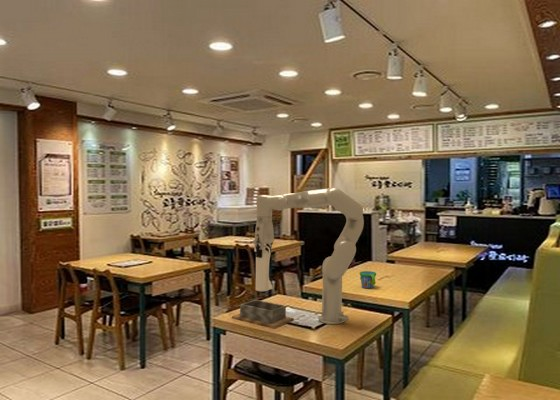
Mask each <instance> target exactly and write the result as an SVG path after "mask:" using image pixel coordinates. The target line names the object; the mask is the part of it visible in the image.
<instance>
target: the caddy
mask: <svg viewBox="0 0 560 400" xmlns="http://www.w3.org/2000/svg"><path fill="white" fill-rule="evenodd" d="M239 306H240V307H239V310H240V311H239V313H238V314H234V315H232V316H231V319H233V320H237V321H242V322H246V323H251V324H255V325H258V326H263V327H266V328H271V329H278V328H279V327H282V326H284V325H286V324H289V323H291V322H292V321H295V319H294V318H295V317H289V316H286V315H287V314H286V313H287V311H286V310H287V306H286V305H283V304H280V303H274V302H269V301H264V300H259V299H253V300H250V301H247V302H244V303H241V304H239Z"/></svg>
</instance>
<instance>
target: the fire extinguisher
mask: <svg viewBox="0 0 560 400" xmlns="http://www.w3.org/2000/svg"><path fill="white" fill-rule="evenodd" d="M254 240H255V239H253V240H252V242H253V241H254ZM259 246H260V245H259ZM265 247H267V248H268V249H269V253H268V251H266V250H265ZM261 249H262V258H258V257H256V256H255V291H257V292H267V291H268V292H269V290H272V289H274V288H273V285H272V281H271V280H270V260H271V259H270V258H271V256H270V254H271V255H272V252H271V253H270V248H269V247H268V246H267V245H266V244H263V245H262V248H261ZM253 251H254V252H255V253H256V247H255V246H254V250H253Z"/></svg>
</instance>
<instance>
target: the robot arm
mask: <svg viewBox="0 0 560 400" xmlns="http://www.w3.org/2000/svg"><path fill="white" fill-rule="evenodd" d="M330 206H332V207H333V208H334V209H335V210H337V211H338V212H339V213H341V214H342V215H344V216H345V219H346V221H345V225H344V227H343V229H342V231H341V233H340V235H339V237H338V238H337V239H336V241H335V243H334V244H333V249H334V250H333V252H332V253H331V256H328V257H327V256H326V257H325V259H324V260H323V262H322V266H321V269H322V290H321V291H322V293H321V298H322V300H321V315H319V317H318V321H319V322H320V323H323V324H328V325H340V324H344V322H345V321H347V322H348V321H349V315H345V314H344V311H342V307H343V306H342V305H343V304H342V303H343V301H342V300H343V299H342V298H343V297H342V296H343V276H344V275H345V273H346V272H347V270H348V268H349V266H350V264H352V261H353V259H354V257H355V256H356V252H357V247H356V243H358V240H359V238H360V236H361V235H362V232H363V230H364V224H365V223H364V222H365V220H364V215H363V214H364V209H363V206H362V204H360V203H359V202H358V201H356V200H355V199H354V198H352V197H351V196H349V195H348V194H347V193H345V192H344V191H343V190H341V189H340V188H338V187H329V188H328V187H327V188H320V189H311V190H304V191H301V192H293V193H283V194H276V195H270V194H259V195H257V197H256V224H255V229H254V230H255V231H254V239H253V240H254V241H253V240H252V244H253V245H254V248H255V247H256V252H255V258H256V257H258V258H262V249H261V248H262V245H263V244H265V245H267V246H268V247H269V248H270V253H271V254H270V257H271V256H272V248H273V243H274V242H275V236H274V235H275V234H274V232H275V231H274V224H273V210H274V211H283V210H287V209H296V208H297V209H298V208H304V209H310V208H313V209H314V208H319V207H330ZM259 245H260V246H259ZM265 250H266V251H268V253H269V249H268V248H267V247H265Z"/></svg>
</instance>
